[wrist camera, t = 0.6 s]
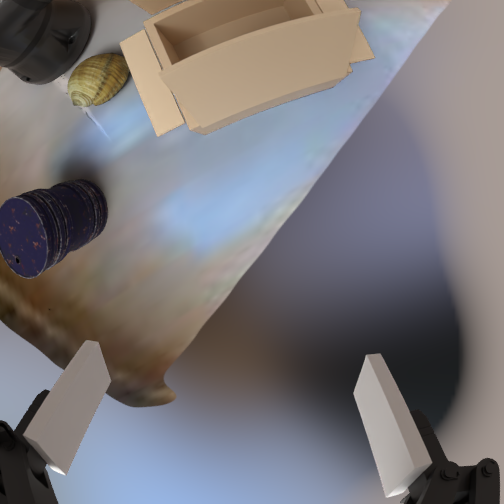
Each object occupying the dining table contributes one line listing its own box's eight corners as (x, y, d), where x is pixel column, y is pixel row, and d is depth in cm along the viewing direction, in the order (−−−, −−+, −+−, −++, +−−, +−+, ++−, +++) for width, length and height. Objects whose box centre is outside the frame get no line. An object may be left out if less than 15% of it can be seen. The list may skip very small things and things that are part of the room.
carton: (143, 56, 32) (116, 37, 23) (308, -4, 28) (319, -36, 20) (182, 146, 36) (160, 144, 28) (354, 81, 33) (379, 65, 24)
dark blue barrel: (67, 169, 37) (0, 184, 23) (116, 191, 38) (54, 214, 24) (54, 226, 40) (-7, 258, 26) (99, 251, 41) (44, 293, 27)
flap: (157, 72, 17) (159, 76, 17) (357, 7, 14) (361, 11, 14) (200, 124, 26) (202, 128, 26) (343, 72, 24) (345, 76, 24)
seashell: (131, 71, 36) (89, 53, 31) (144, 52, 30) (96, 31, 25) (102, 124, 35) (57, 106, 30) (109, 110, 30) (57, 88, 25)
